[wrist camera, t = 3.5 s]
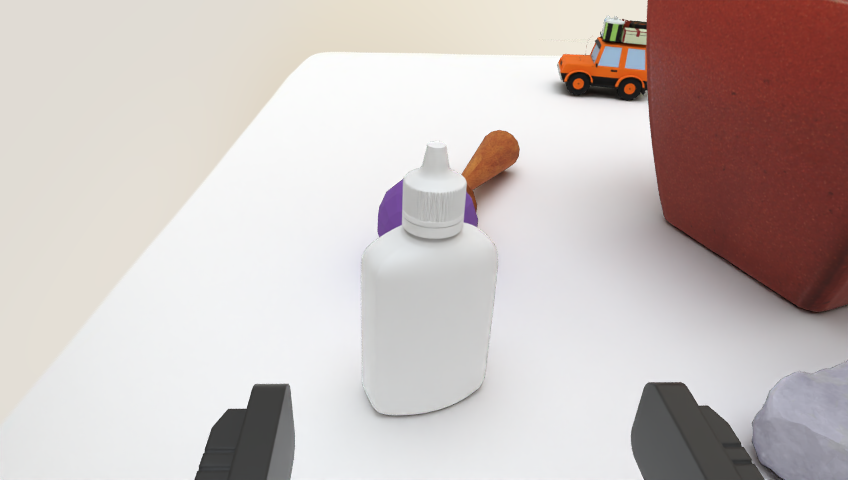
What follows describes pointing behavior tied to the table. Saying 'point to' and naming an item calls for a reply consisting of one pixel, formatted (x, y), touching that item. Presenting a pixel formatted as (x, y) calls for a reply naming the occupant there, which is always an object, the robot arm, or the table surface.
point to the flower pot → (756, 136)
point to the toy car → (610, 61)
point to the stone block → (805, 426)
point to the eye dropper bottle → (427, 297)
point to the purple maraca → (484, 165)
